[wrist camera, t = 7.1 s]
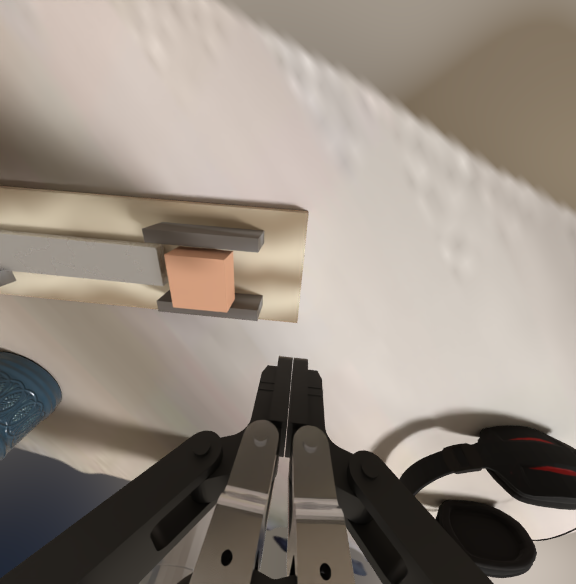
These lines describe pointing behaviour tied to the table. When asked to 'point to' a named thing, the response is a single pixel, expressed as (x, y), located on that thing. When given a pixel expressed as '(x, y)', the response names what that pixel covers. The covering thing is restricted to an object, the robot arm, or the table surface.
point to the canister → (23, 398)
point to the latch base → (165, 247)
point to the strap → (83, 257)
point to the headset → (513, 479)
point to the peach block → (201, 278)
